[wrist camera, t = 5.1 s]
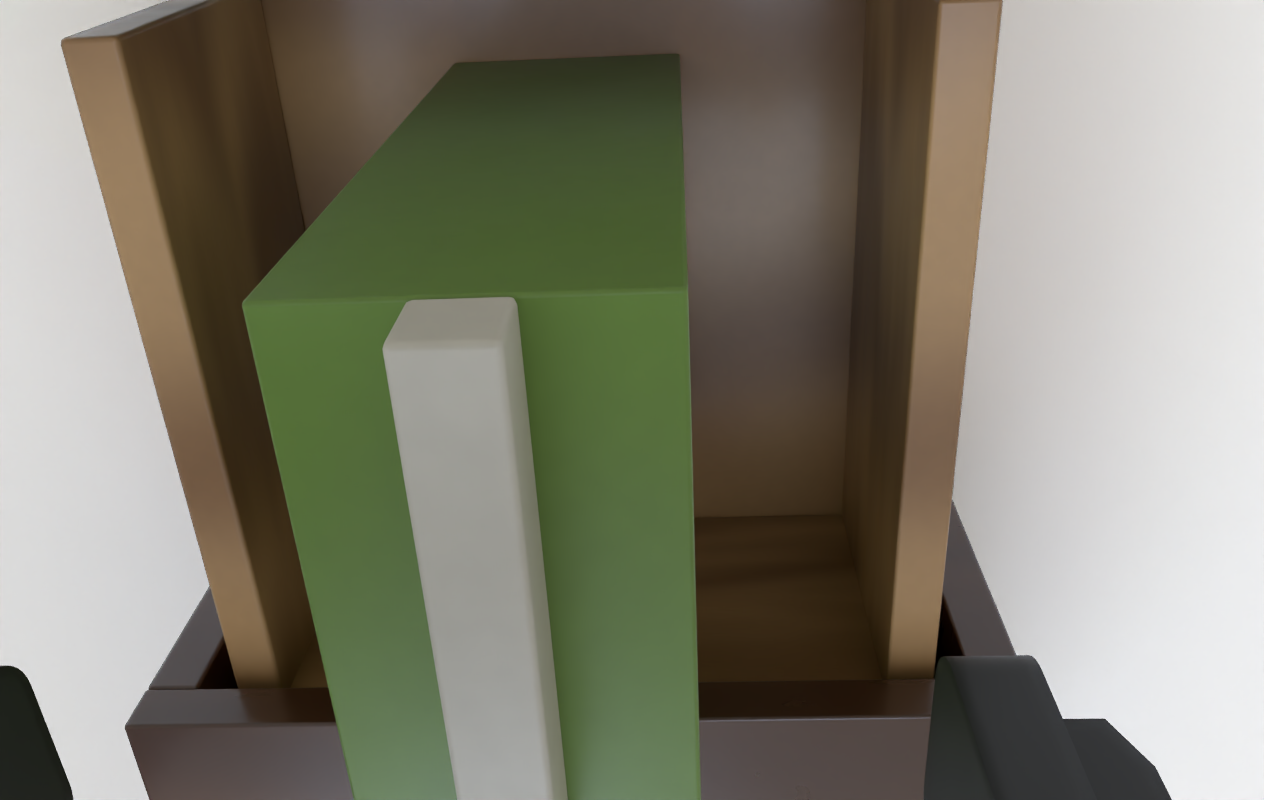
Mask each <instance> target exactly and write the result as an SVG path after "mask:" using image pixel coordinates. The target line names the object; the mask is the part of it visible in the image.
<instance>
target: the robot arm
mask: <svg viewBox="0 0 1264 800" xmlns="http://www.w3.org/2000/svg"><path fill="white" fill-rule="evenodd" d="M0 800H73V795H72V790H71V787H70V784H69V781H68V779H67V776H66V774H65V771H64V768H63V766H62V763H61V761H60V758H59V756H58V753H57V751H56V748H55V745H54V743H53V740H52V738H51V735H50V733H49V730H48V728H47V725H46V722H45V720H44V717H43V715H42V712H41V710H40V707H39V705H38V702H37V699H36V697H35V694H34V692H33V689H32V687H31V684H30V682H29V680H28V678H27V677H26V676H25V674H24V673H23V672H22V671H20V670H19V669H18V668H15V667H13V666H0ZM924 800H1172V799H1171V797H1170V795H1169V793H1168V791H1167V789H1166V787H1165V785H1164V783H1163V782H1162V780H1161V778H1160V776H1159V774H1158V772H1157V770H1156V768H1155V766H1154V765H1153V764H1152V763H1150V762H1149V761H1148V760H1147V759H1146V758H1145V757H1144V756H1143V755H1142V754H1141V753H1140V752H1139V751H1138V750H1137V749H1136V748H1135V747H1134V746H1133V745H1132V744H1131V743H1130V742H1129V741H1127V740H1126V739H1125V738H1124V737H1123V736H1122V735H1121V734H1120V733H1119V732H1118V731H1117V730H1116V729H1115V728H1114V727H1113V726H1112V725H1111V724H1110V723H1109V722H1108V721H1107V720H1106V719H1062V716H1061V714H1060V712H1059V709H1058V707H1057V705H1056V702H1055V700H1054V698H1053V695H1052V693H1051V691H1050V688H1049V686H1048V684H1047V681H1046V679H1045V677H1044V674H1043V672H1042V670H1041V668H1040V666H1039V664H1038V662H1037V661H1036V660H1035V659H1034V658H1033V657H1032V656H1029V655H1018V656H943V657H941V658H940V660H939V662H938V664H937V669H936V675H935V683H934V693H933V703H932V712H931V722H930V731H929V741H928V751H927V760H926V770H925V779H924Z"/></svg>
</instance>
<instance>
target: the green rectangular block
mask: <svg viewBox="0 0 1264 800" xmlns="http://www.w3.org/2000/svg"><path fill="white" fill-rule="evenodd" d="M242 308H243V312H244V317H245V321H246V326H247V330H248V334H249V339H250V343H251V348H252V352H253V357H254V361H255V365H256V370H257V374H258V379H259V383H260V388H261V392H262V396H263V401H264V405H265V410H266V414H267V419H268V423H269V427H270V432H271V436H272V441H273V445H274V449H275V454H276V458H277V463H278V467H279V472H280V476H281V480H282V485H283V489H284V494H285V498H286V503H287V507H288V511H289V516H290V520H291V525H292V529H293V534H294V538H295V542H296V547H297V551H298V556H299V560H300V565H301V569H302V573H303V578H304V582H305V587H306V591H307V596H308V600H309V604H310V609H311V613H312V618H313V622H314V627H315V631H316V635H317V640H318V644H319V649H320V653H321V658H322V662H323V666H324V671H325V675H326V680H327V684H328V689H329V693H330V697H331V702H332V706H333V711H334V715H335V719H336V724H337V728H338V733H339V737H340V742H341V746H342V750H343V755H344V759H345V764H346V768H347V773H348V777H349V781H350V786H351V790H352V795H353V799H354V800H701V775H700V736H699V696H698V656H697V616H696V577H695V537H694V497H693V457H692V418H691V378H690V338H689V298H688V268H687V241H686V213H685V185H684V157H683V129H682V102H681V74H680V56H679V54H655V55H631V56H608V57H584V58H561V59H537V60H514V61H490V62H466V63H455V64H453V65H452V67H451V68H450V69H449V70H448V71H447V72H446V73H445V74H444V76H443V77H442V78H441V79H440V80H439V81H438V82H437V84H436V85H435V86H434V87H433V88H432V89H431V90H430V91H429V93H428V94H427V95H426V96H425V97H424V98H423V99H422V100H421V102H420V103H419V104H418V105H417V106H416V107H415V108H414V109H413V111H412V112H411V113H410V114H409V115H408V116H407V117H406V118H405V120H404V121H403V122H402V123H401V124H400V125H399V126H398V127H397V129H396V130H395V131H394V132H393V133H392V134H391V135H390V136H389V138H388V139H387V140H386V141H385V142H384V143H383V144H382V145H381V147H380V148H379V149H378V150H377V151H376V152H375V153H374V154H373V156H372V157H371V158H370V159H369V160H368V161H367V162H366V163H365V165H364V166H363V167H362V168H361V169H360V170H359V171H358V172H357V174H356V175H355V176H354V177H353V178H352V179H351V180H350V181H349V183H348V184H347V185H346V186H345V187H344V188H343V189H342V190H341V192H340V193H339V194H338V195H337V196H336V197H335V198H334V199H333V201H332V202H331V203H330V204H329V205H328V206H327V207H326V208H325V210H324V211H323V212H322V213H321V214H320V215H319V216H318V217H317V219H316V220H315V221H314V222H313V223H312V224H311V225H310V227H309V228H308V229H307V230H306V231H305V232H304V233H303V234H302V236H301V237H300V238H299V239H298V240H297V241H296V242H295V243H294V245H293V246H292V247H291V248H290V249H289V250H288V251H287V252H286V254H285V255H284V256H283V257H282V258H281V259H280V260H279V261H278V263H277V264H276V265H275V266H274V267H273V268H272V269H271V270H270V272H269V273H268V274H267V275H266V276H265V277H264V278H263V279H262V281H261V282H260V283H259V284H258V285H257V286H256V287H255V288H254V290H253V291H252V292H251V293H250V294H249V295H248V296H247V297H246V299H245V300H244V301H243V303H242Z"/></svg>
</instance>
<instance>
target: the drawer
mask: <svg viewBox="0 0 1264 800" xmlns="http://www.w3.org/2000/svg"><path fill="white" fill-rule="evenodd" d="M1002 3H1003V1H1002V0H168V1H166V2H163V3H160V4H157V5H155V6H152V7H149V8H146V9H143V10H141V11H138V12H135V13H132V14H130V15H127V16H124V17H121V18H119V19H116V20H113V21H110V22H107V23H105V24H102V25H99V26H96V27H94V28H91V29H88V30H85V31H82V32H80V33H77V34H74V35H71V36H69V37H66V38H64V39H62V41H61V47H62V50H63V54H64V58H65V61H66V65H67V68H68V72H69V76H70V79H71V83H72V87H73V90H74V94H75V98H76V101H77V105H78V108H79V112H80V116H81V119H82V123H83V127H84V130H85V134H86V137H87V141H88V145H89V148H90V152H91V156H92V159H93V163H94V167H95V170H96V174H97V177H98V181H99V185H100V188H101V192H102V196H103V199H104V203H105V207H106V210H107V214H108V217H109V221H110V225H111V228H112V232H113V236H114V239H115V243H116V247H117V250H118V254H119V257H120V261H121V265H122V268H123V272H124V276H125V279H126V283H127V287H128V290H129V294H130V297H131V301H132V305H133V308H134V312H135V316H136V319H137V323H138V327H139V330H140V334H141V337H142V341H143V345H144V348H145V352H146V356H147V359H148V363H149V367H150V370H151V374H152V377H153V381H154V385H155V388H156V392H157V396H158V399H159V403H160V407H161V410H162V414H163V417H164V421H165V425H166V428H167V432H168V436H169V439H170V443H171V447H172V450H173V454H174V457H175V461H176V465H177V468H178V472H179V476H180V479H181V483H182V487H183V490H184V494H185V497H186V501H187V505H188V508H189V512H190V516H191V519H192V523H193V527H194V530H195V534H196V537H197V541H198V545H199V548H200V552H201V556H202V559H203V563H204V567H205V570H206V574H207V577H208V581H209V585H210V588H211V592H212V596H213V599H214V603H215V607H216V610H217V614H218V617H219V621H220V625H221V628H222V632H223V636H224V639H225V643H226V647H227V650H228V654H229V657H230V661H231V665H232V668H233V672H234V676H235V679H236V683H237V687H238V689H249V688H318V687H328V684H327V680H326V675H325V671H324V666H323V662H322V658H321V653H320V649H319V644H318V640H317V635H316V631H315V627H314V622H313V618H312V613H311V609H310V604H309V600H308V596H307V591H306V587H305V582H304V578H303V573H302V569H301V565H300V560H299V556H298V551H297V547H296V542H295V538H294V534H293V529H292V525H291V520H290V516H289V511H288V507H287V503H286V498H285V494H284V489H283V485H282V480H281V476H280V472H279V467H278V463H277V458H276V454H275V449H274V445H273V441H272V436H271V432H270V427H269V423H268V419H267V414H266V410H265V405H264V401H263V396H262V392H261V388H260V383H259V379H258V374H257V370H256V365H255V361H254V357H253V352H252V348H251V343H250V339H249V334H248V330H247V326H246V321H245V317H244V312H243V308H242V303H243V301H244V300H245V299H246V297H247V296H248V295H249V294H250V293H251V292H252V291H253V290H254V288H255V287H256V286H257V285H258V284H259V283H260V282H261V281H262V279H263V278H264V277H265V276H266V275H267V274H268V273H269V272H270V270H271V269H272V268H273V267H274V266H275V265H276V264H277V263H278V261H279V260H280V259H281V258H282V257H283V256H284V255H285V254H286V252H287V251H288V250H289V249H290V248H291V247H292V246H293V245H294V243H295V242H296V241H297V240H298V239H299V238H300V237H301V236H302V234H303V233H304V232H305V231H306V230H307V229H308V228H309V227H310V225H311V224H312V223H313V222H314V221H315V220H316V219H317V217H318V216H319V215H320V214H321V213H322V212H323V211H324V210H325V208H326V207H327V206H328V205H329V204H330V203H331V202H332V201H333V199H334V198H335V197H336V196H337V195H338V194H339V193H340V192H341V190H342V189H343V188H344V187H345V186H346V185H347V184H348V183H349V181H350V180H351V179H352V178H353V177H354V176H355V175H356V174H357V172H358V171H359V170H360V169H361V168H362V167H363V166H364V165H365V163H366V162H367V161H368V160H369V159H370V158H371V157H372V156H373V154H374V153H375V152H376V151H377V150H378V149H379V148H380V147H381V145H382V144H383V143H384V142H385V141H386V140H387V139H388V138H389V136H390V135H391V134H392V133H393V132H394V131H395V130H396V129H397V127H398V126H399V125H400V124H401V123H402V122H403V121H404V120H405V118H406V117H407V116H408V115H409V114H410V113H411V112H412V111H413V109H414V108H415V107H416V106H417V105H418V104H419V103H420V102H421V100H422V99H423V98H424V97H425V96H426V95H427V94H428V93H429V91H430V90H431V89H432V88H433V87H434V86H435V85H436V84H437V82H438V81H439V80H440V79H441V78H442V77H443V76H444V74H445V73H446V72H447V71H448V70H449V69H450V68H451V67H452V65H453V64H455V63H466V62H490V61H514V60H537V59H561V58H584V57H608V56H631V55H655V54H679V56H680V74H681V102H682V129H683V157H684V185H685V213H686V241H687V268H688V298H689V338H690V378H691V418H692V457H693V497H694V537H695V577H696V616H697V656H698V682H735V681H804V680H874V679H934V670H935V660H936V650H937V640H938V631H939V621H940V611H941V601H942V591H943V582H944V572H945V562H946V552H947V542H948V533H949V523H950V513H951V503H952V493H953V484H954V474H955V464H956V454H957V444H958V435H959V425H960V415H961V405H962V395H963V386H964V376H965V366H966V356H967V346H968V337H969V327H970V317H971V307H972V297H973V288H974V278H975V268H976V258H977V248H978V239H979V229H980V219H981V209H982V199H983V190H984V180H985V170H986V160H987V150H988V141H989V131H990V121H991V111H992V101H993V92H994V82H995V72H996V62H997V52H998V43H999V33H1000V23H1001V13H1002Z"/></svg>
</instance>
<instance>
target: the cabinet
mask: <svg viewBox="0 0 1264 800" xmlns="http://www.w3.org/2000/svg"><path fill="white" fill-rule="evenodd" d="M943 656H1017V655H1016V653H1015V651H1014V648H1013V646H1012V643H1011V641H1010V639H1009V636H1008V634H1007V631H1006V629H1005V626H1004V624H1003V622H1002V619H1001V617H1000V614H999V612H998V609H997V607H996V605H995V602H994V600H993V597H992V595H991V592H990V590H989V588H988V585H987V583H986V580H985V578H984V576H983V573H982V571H981V568H980V566H979V563H978V561H977V559H976V556H975V554H974V551H973V549H972V546H971V544H970V542H969V539H968V537H967V534H966V532H965V529H964V527H963V525H962V522H961V520H960V517H959V515H958V513H957V510H956V508H955V505H954V503H953V500H952V503H951V513H950V523H949V533H948V542H947V552H946V562H945V572H944V582H943V591H942V601H941V611H940V621H939V631H938V640H937V650H936V660H935V670H934V679H874V680H804V681H735V682H698V696H699V736H700V775H701V800H924V779H925V770H926V760H927V751H928V741H929V731H930V722H931V712H932V703H933V693H934V683H935V675H936V669H937V664H938V662H939V660H940V658H941V657H943ZM125 730H126V733H127V736H128V738H129V741H130V744H131V747H132V750H133V753H134V756H135V759H136V762H137V765H138V768H139V770H140V773H141V776H142V779H143V782H144V785H145V788H146V791H147V794H148V797H149V800H354V799H353V795H352V790H351V786H350V781H349V777H348V773H347V768H346V764H345V759H344V755H343V750H342V746H341V742H340V737H339V733H338V728H337V724H336V719H335V715H334V711H333V706H332V702H331V697H330V693H329V689H328V687H318V688H249V689H238V687H237V683H236V679H235V676H234V672H233V668H232V665H231V661H230V657H229V654H228V650H227V647H226V643H225V639H224V636H223V632H222V628H221V625H220V621H219V617H218V614H217V610H216V607H215V603H214V599H213V596H212V592H211V588H210V586H209V588H208V590H207V591H206V593H205V595H204V596H203V598H202V600H201V601H200V603H199V605H198V606H197V608H196V609H195V611H194V613H193V614H192V616H191V618H190V619H189V621H188V623H187V624H186V626H185V628H184V629H183V631H182V633H181V634H180V636H179V638H178V639H177V641H176V643H175V644H174V646H173V648H172V649H171V651H170V653H169V654H168V656H167V658H166V659H165V661H164V663H163V664H162V666H161V668H160V669H159V671H158V673H157V674H156V676H155V678H154V679H153V681H152V683H151V684H150V686H149V690H147V691H146V692H145V693H144V695H143V697H142V698H141V700H140V702H139V703H138V705H137V707H136V708H135V710H134V712H133V713H132V715H131V717H130V718H129V720H128V722H127V723H126V725H125Z"/></svg>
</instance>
